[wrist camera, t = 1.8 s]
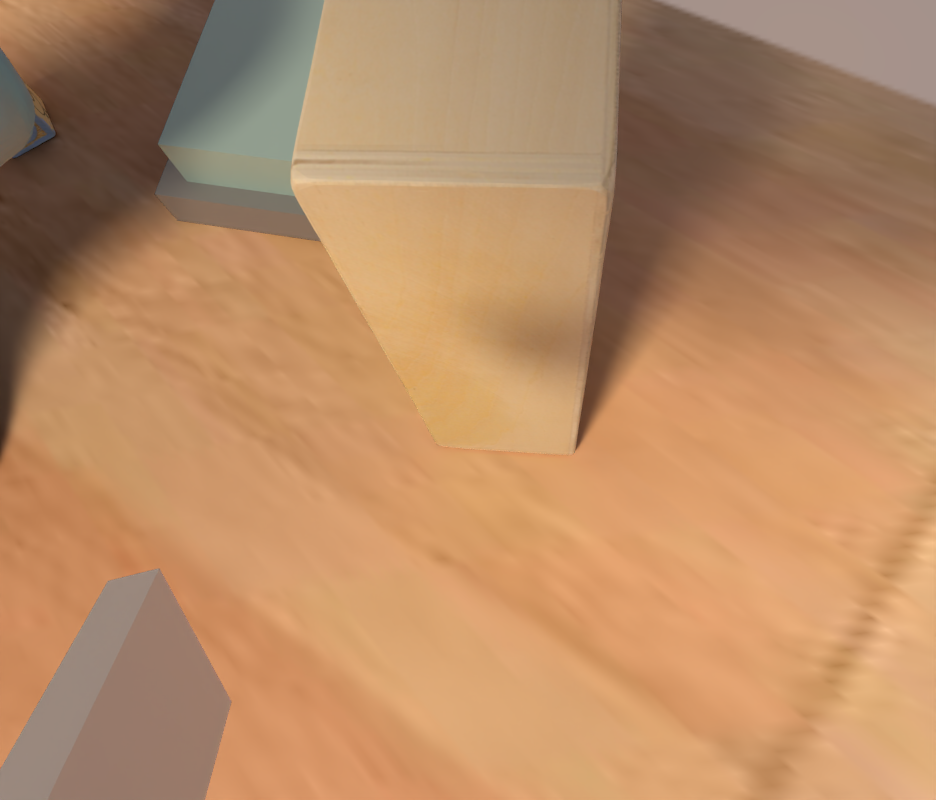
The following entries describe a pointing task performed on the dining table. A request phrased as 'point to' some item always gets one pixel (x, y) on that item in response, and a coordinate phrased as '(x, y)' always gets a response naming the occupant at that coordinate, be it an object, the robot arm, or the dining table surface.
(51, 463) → the dining table surface
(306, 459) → the dining table surface
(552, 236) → the toy refrigerator
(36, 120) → the alphabet block
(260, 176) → the brick stand
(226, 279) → the dining table surface
